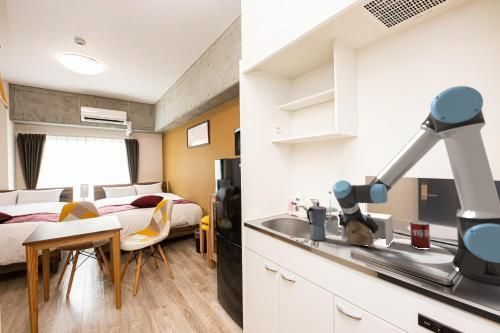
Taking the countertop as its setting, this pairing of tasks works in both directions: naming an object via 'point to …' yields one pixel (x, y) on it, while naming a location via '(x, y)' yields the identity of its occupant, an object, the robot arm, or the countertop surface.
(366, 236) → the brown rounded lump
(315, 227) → the moka pot
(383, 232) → the white box
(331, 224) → the french press
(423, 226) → the soda can
